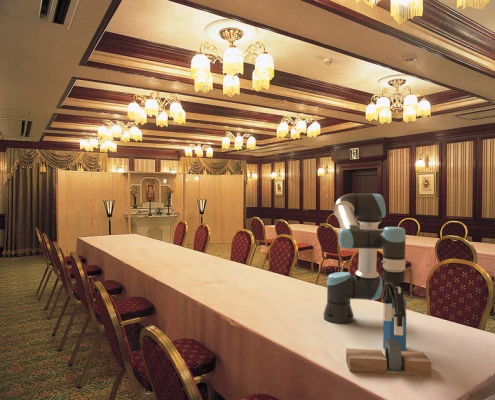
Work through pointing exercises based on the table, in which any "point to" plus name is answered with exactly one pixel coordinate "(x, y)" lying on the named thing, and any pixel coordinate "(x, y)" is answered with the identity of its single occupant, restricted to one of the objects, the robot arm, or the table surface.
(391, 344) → the clip
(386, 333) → the water bottle
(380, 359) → the rail
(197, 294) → the table surface
